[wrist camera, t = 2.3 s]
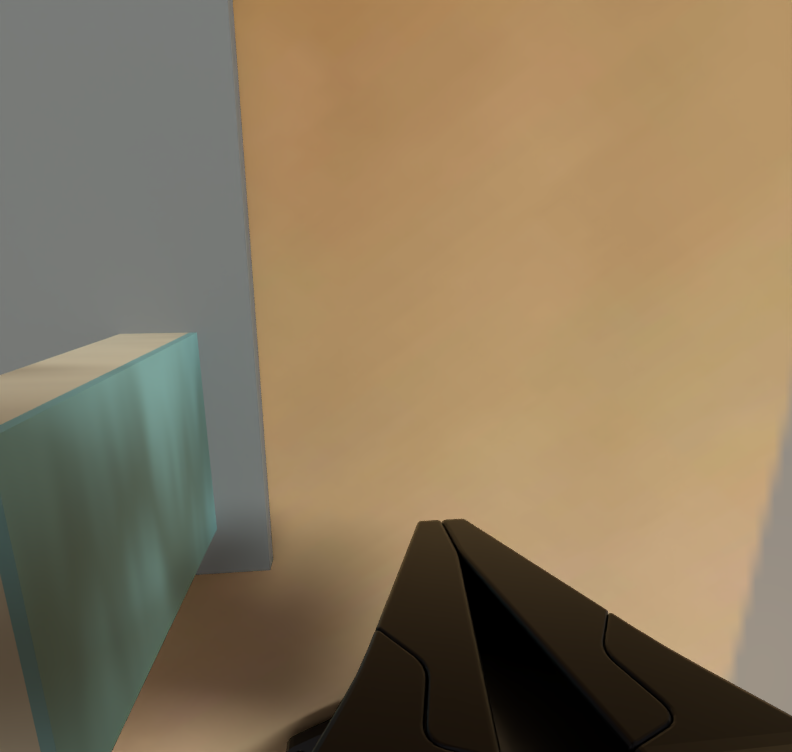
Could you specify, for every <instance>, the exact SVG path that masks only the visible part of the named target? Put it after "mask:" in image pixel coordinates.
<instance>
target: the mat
mask: <svg viewBox="0 0 792 752" xmlns="http://www.w3.org/2000/svg"><path fill="white" fill-rule="evenodd" d="M196 332H197V339H198V349H199V359H200V368H201V378H202V388H203V398H204V407H205V417H206V427H207V437H208V446H209V456H210V466H211V476H212V485H213V495H214V505H215V515H216V524H217V530H216V532H215V534H214V536H213V538H212V541H211V543H210V545H209V547H208V549H207V551H206V553H205V555H204V557H203V560H202V562H201V564H200V566H199V568H198V570H197V572H196V574H195V575H200V574H216V573H231V572H247V571H263V570H270V569H271V565H272V561H273V551H272V537H271V524H270V510H269V496H268V482H267V469H266V455H265V441H264V427H263V413H262V400H261V386H260V372H259V358H258V345H257V331H256V317H255V303H254V290H253V276H252V262H251V248H250V234H249V221H248V207H247V193H246V179H245V166H244V152H243V138H242V124H241V111H240V97H239V83H238V69H237V55H236V42H235V28H234V14H233V0H0V375H2V374H5V373H8V372H11V371H14V370H16V369H19V368H22V367H25V366H28V365H31V364H34V363H37V362H40V361H43V360H46V359H48V358H51V357H54V356H57V355H60V354H63V353H66V352H69V351H72V350H75V349H77V348H80V347H83V346H86V345H89V344H92V343H95V342H98V341H101V340H104V339H107V338H109V337H112V336H115V335H118V334H140V333H196Z"/></svg>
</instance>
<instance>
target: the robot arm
mask: <svg viewBox="0 0 792 752" xmlns="http://www.w3.org/2000/svg"><path fill="white" fill-rule="evenodd" d="M286 752H792V716H791V715H789V714H787V713H786V712H784V711H782V710H780V709H778V708H776V707H774V706H773V705H771V704H769V703H767V702H765V701H764V700H762V699H760V698H758V697H756V696H754V695H753V694H751V693H749V692H747V691H745V690H743V689H741V688H740V687H738V686H736V685H734V684H732V683H730V682H729V681H727V680H725V679H723V678H721V677H719V676H718V675H716V674H714V673H712V672H710V671H708V670H707V669H705V668H703V667H701V666H699V665H698V664H696V663H694V662H692V661H691V660H689V659H687V658H685V657H683V656H682V655H680V654H678V653H676V652H675V651H673V650H671V649H669V648H667V647H666V646H664V645H662V644H661V643H659V642H657V641H656V640H654V639H653V638H651V637H649V636H648V635H646V634H644V633H643V632H641V631H639V630H638V629H636V628H635V627H633V626H631V625H630V624H628V623H627V622H625V621H623V620H622V619H620V618H619V617H617V616H616V615H614V614H612V613H609V614H608V611H607V610H606V609H604V608H603V607H601V606H600V605H598V604H597V603H595V602H593V601H592V600H590V599H589V598H587V597H586V596H584V595H582V594H581V593H579V592H578V591H576V590H575V589H573V588H571V587H570V586H568V585H567V584H565V583H564V582H562V581H560V580H559V579H557V578H556V577H554V576H553V575H551V574H549V573H548V572H546V571H545V570H543V569H542V568H540V567H539V566H537V565H535V564H534V563H532V562H531V561H529V560H528V559H526V558H524V557H523V556H521V555H520V554H518V553H517V552H515V551H513V550H512V549H510V548H509V547H507V546H506V545H504V544H502V543H501V542H499V541H498V540H496V539H495V538H493V537H491V536H490V535H488V534H487V533H485V532H484V531H482V530H480V529H479V528H477V527H476V526H474V525H473V524H471V523H469V522H468V521H466V520H464V519H450V520H444V521H442V523H441V521H439V520H432V521H420V522H419V523H418V524H417V526H416V529H415V531H414V534H413V536H412V539H411V542H410V544H409V547H408V549H407V552H406V554H405V557H404V559H403V562H402V564H401V567H400V569H399V572H398V574H397V577H396V580H395V582H394V585H393V587H392V590H391V592H390V595H389V597H388V600H387V602H386V605H385V607H384V610H383V612H382V615H381V617H380V620H379V623H378V625H377V628H376V632H375V633H374V634H373V637H372V640H371V642H370V645H369V647H368V650H367V652H366V654H365V656H364V659H363V661H362V663H361V665H360V667H359V670H358V672H357V674H356V676H355V678H354V680H353V682H352V683H351V685H350V687H349V689H348V691H347V693H346V694H345V696H344V698H343V700H342V702H341V703H340V705H339V707H338V709H337V710H336V712H335V714H334V715H333V717H332V719H330V720H328V721H326V722H324V723H322V724H319V725H317V726H315V727H313V728H311V729H308V730H306V731H304V732H302V733H300V734H297V735H295V736H293V737H292V738H290V740H289V741H288V742H287V748H286Z"/></svg>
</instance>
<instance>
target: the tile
mask: <svg viewBox="0 0 792 752" xmlns="http://www.w3.org/2000/svg"><path fill="white" fill-rule="evenodd" d="M216 530H217V524H216V515H215V505H214V495H213V485H212V476H211V466H210V456H209V446H208V437H207V427H206V417H205V407H204V398H203V388H202V378H201V368H200V359H199V349H198V339H197V332H196V333H140V334H118V335H115V336H112V337H109V338H107V339H104V340H101V341H98V342H95V343H92V344H89V345H86V346H83V347H80V348H77V349H75V350H72V351H69V352H66V353H63V354H60V355H57V356H54V357H51V358H48V359H46V360H43V361H40V362H37V363H34V364H31V365H28V366H25V367H22V368H19V369H16V370H14V371H11V372H8V373H5V374H2V375H0V752H112V750H113V747H114V745H115V743H116V741H117V739H118V737H119V735H120V733H121V731H122V728H123V726H124V724H125V722H126V720H127V718H128V716H129V714H130V712H131V709H132V707H133V705H134V703H135V701H136V699H137V697H138V695H139V693H140V690H141V688H142V686H143V684H144V682H145V680H146V678H147V676H148V674H149V671H150V669H151V667H152V665H153V663H154V661H155V659H156V657H157V655H158V652H159V650H160V648H161V646H162V644H163V642H164V640H165V638H166V636H167V633H168V631H169V629H170V627H171V625H172V623H173V621H174V619H175V617H176V614H177V612H178V610H179V608H180V606H181V604H182V602H183V600H184V598H185V595H186V593H187V591H188V589H189V587H190V585H191V583H192V581H193V579H194V576H195V574H196V572H197V570H198V568H199V566H200V564H201V562H202V560H203V557H204V555H205V553H206V551H207V549H208V547H209V545H210V543H211V541H212V538H213V536H214V534H215V532H216Z"/></svg>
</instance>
